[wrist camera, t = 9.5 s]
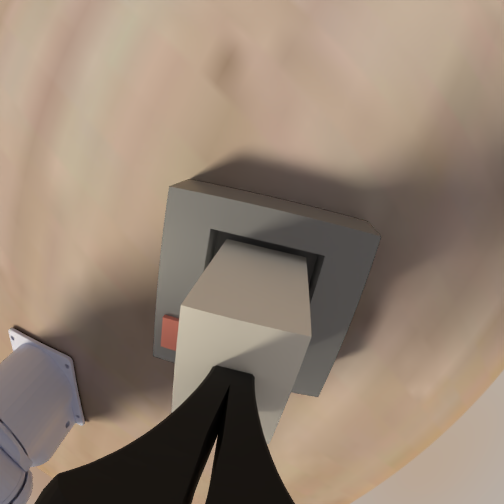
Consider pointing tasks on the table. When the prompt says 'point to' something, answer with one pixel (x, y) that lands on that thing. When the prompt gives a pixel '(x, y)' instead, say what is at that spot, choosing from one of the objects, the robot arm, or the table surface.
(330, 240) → the socket
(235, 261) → the plug
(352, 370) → the table surface
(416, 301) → the table surface
